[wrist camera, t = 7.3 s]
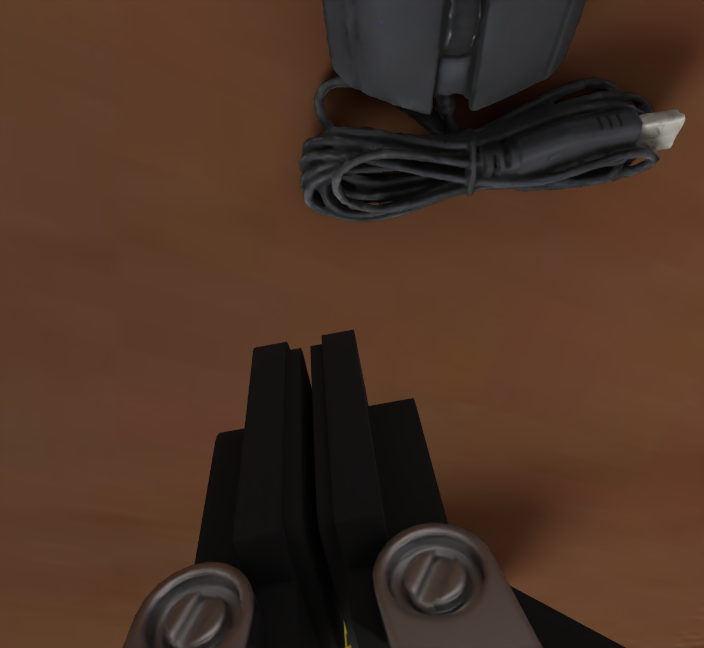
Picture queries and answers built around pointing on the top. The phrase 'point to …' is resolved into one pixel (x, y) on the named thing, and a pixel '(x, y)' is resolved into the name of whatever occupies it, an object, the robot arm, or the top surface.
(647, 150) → the computer mouse
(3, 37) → the top surface
